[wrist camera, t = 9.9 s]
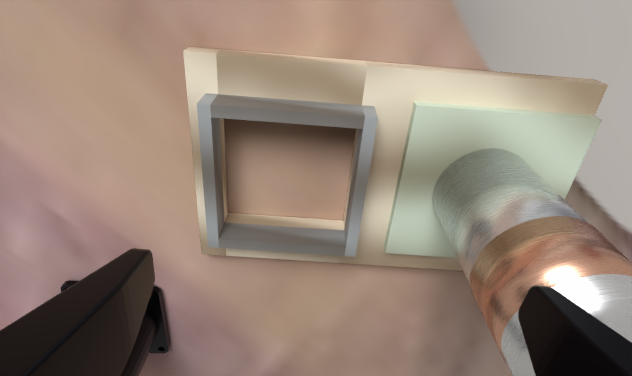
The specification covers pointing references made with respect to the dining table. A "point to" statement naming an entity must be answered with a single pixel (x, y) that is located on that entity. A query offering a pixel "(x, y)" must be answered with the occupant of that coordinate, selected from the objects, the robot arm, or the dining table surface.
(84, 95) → the dining table surface
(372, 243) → the pocket board
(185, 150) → the dining table surface
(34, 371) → the robot arm
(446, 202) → the steel tin
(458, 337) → the dining table surface
